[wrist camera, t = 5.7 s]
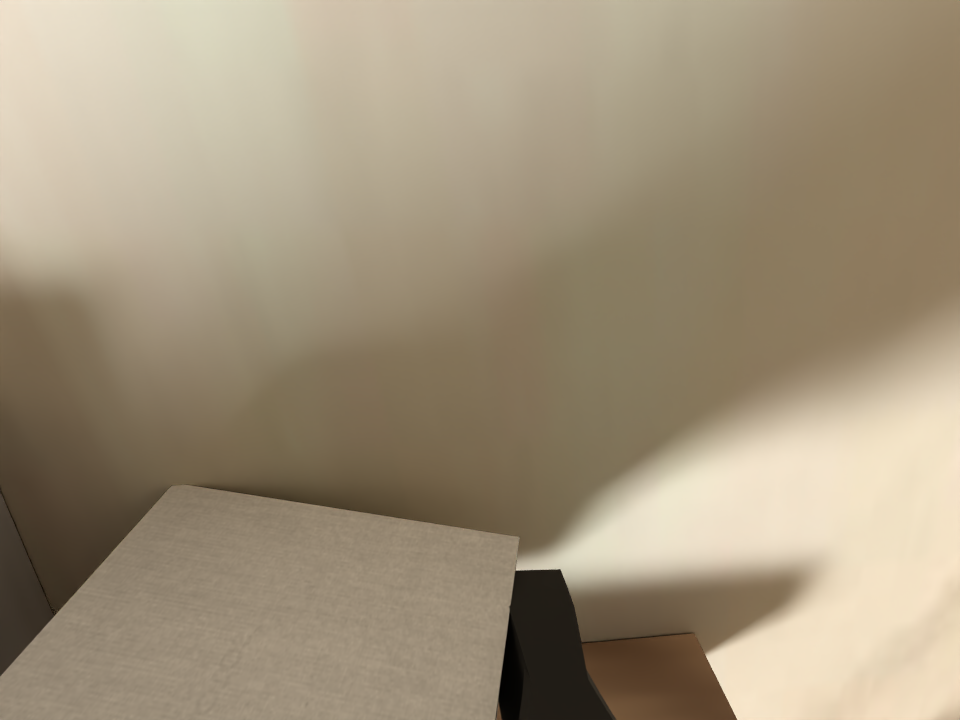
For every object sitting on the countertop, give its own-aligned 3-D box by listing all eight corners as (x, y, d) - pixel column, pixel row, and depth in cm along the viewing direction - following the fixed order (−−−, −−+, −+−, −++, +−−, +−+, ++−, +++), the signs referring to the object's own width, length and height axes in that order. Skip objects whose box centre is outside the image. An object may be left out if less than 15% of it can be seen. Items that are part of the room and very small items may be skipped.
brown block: (11, 735, 15) (-83, 921, 12) (-175, 403, 10) (-408, 569, 7) (682, 669, 17) (746, 809, 14) (779, 374, 13) (904, 490, 10)
